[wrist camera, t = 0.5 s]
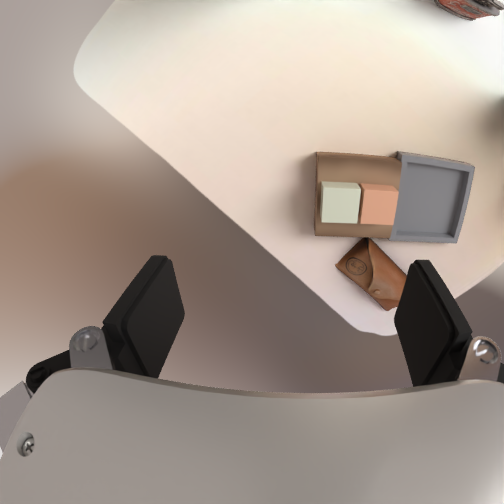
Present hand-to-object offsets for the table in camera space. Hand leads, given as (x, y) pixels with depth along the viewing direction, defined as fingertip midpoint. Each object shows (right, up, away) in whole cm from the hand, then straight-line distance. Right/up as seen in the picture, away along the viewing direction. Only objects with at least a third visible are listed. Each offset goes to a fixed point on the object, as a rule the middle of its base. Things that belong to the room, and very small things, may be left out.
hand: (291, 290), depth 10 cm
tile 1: (+16, +9, +26) cm, 32 cm away
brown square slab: (+14, +10, +29) cm, 34 cm away
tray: (+27, +10, +27) cm, 40 cm away
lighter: (+29, +39, +8) cm, 49 cm away
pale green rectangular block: (+11, +9, +27) cm, 30 cm away
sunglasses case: (+22, -3, +37) cm, 43 cm away
